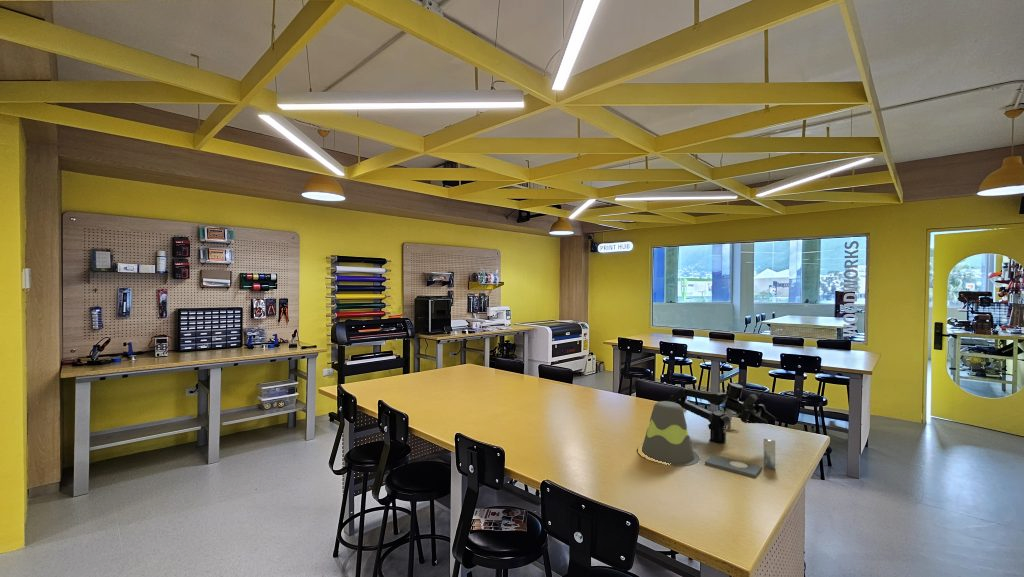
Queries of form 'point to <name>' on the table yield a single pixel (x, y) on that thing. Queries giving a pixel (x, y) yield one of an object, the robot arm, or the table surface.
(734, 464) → the mat
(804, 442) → the table surface
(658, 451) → the grey tapered cylinder
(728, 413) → the mechanical component
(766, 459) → the metal pin
